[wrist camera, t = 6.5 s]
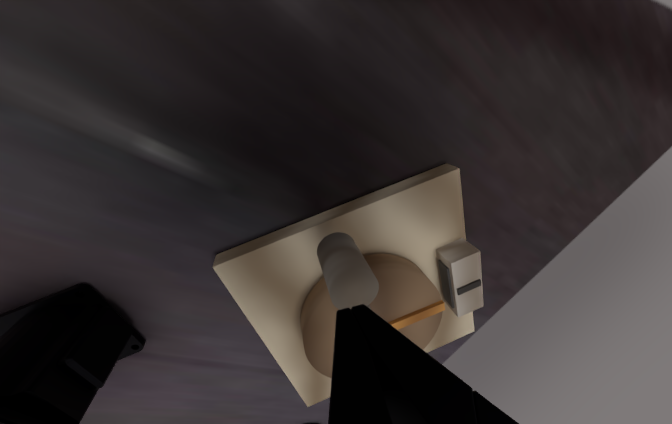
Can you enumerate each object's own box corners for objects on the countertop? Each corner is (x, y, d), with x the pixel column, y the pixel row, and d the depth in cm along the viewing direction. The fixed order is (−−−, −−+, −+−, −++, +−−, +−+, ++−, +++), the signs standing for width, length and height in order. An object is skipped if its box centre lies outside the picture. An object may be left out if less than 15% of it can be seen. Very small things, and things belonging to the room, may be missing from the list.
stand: (305, 391, 27) (311, 432, 23) (216, 254, 19) (205, 289, 15) (464, 319, 28) (490, 349, 25) (446, 163, 20) (481, 176, 17)
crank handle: (323, 376, 24) (343, 471, 18) (252, 234, 17) (245, 313, 11) (434, 329, 25) (488, 404, 19) (411, 177, 18) (486, 219, 12)
